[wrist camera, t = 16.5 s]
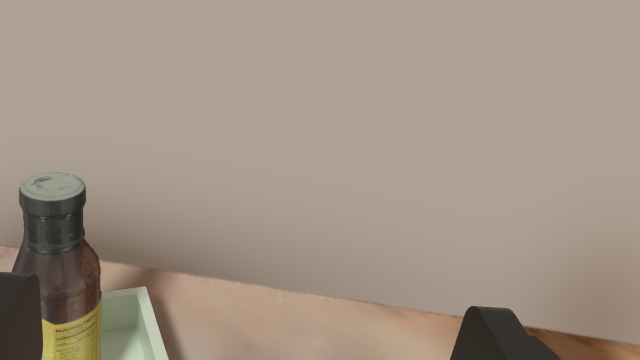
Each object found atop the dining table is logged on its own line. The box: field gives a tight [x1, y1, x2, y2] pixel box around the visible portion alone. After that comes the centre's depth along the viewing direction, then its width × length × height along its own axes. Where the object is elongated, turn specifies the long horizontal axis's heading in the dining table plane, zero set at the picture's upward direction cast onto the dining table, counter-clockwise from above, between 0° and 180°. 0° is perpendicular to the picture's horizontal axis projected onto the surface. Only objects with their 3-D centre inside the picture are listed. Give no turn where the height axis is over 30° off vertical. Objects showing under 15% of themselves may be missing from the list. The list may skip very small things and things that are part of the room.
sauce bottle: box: [11, 172, 102, 360], centre depth 41 cm, size 7×6×20 cm
